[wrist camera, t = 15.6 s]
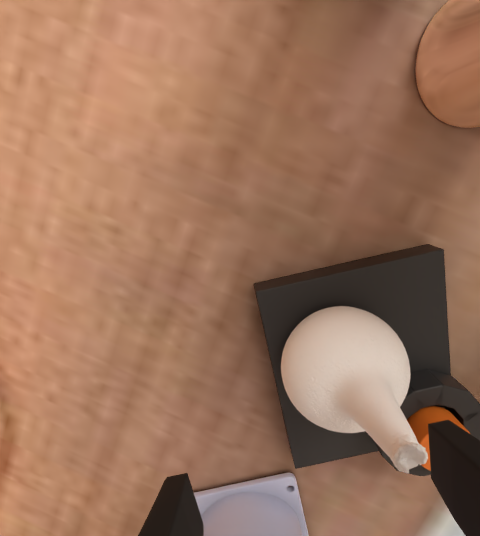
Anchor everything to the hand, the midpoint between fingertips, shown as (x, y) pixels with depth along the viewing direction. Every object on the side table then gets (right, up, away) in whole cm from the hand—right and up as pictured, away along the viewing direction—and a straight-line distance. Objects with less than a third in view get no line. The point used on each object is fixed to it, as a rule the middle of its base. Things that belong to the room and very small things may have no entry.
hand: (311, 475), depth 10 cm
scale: (+5, +1, +11) cm, 12 cm away
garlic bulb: (+3, +1, +9) cm, 10 cm away
